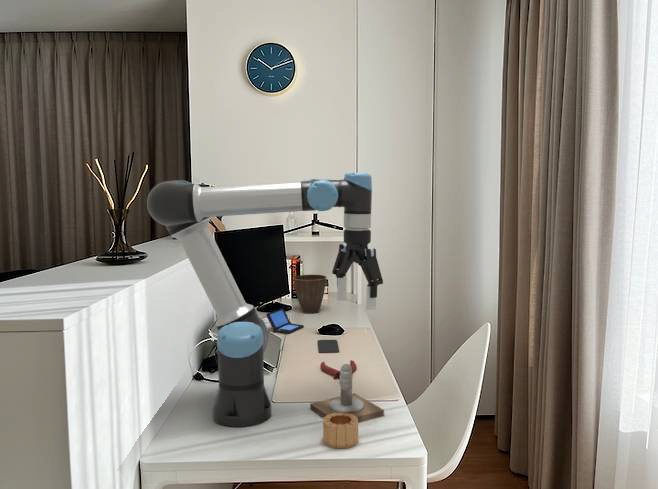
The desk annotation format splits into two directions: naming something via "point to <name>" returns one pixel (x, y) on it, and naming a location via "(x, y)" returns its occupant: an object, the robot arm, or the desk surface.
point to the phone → (328, 346)
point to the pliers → (335, 372)
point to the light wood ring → (340, 430)
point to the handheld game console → (282, 322)
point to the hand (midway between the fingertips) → (355, 304)
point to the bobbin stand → (347, 401)
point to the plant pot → (310, 292)
